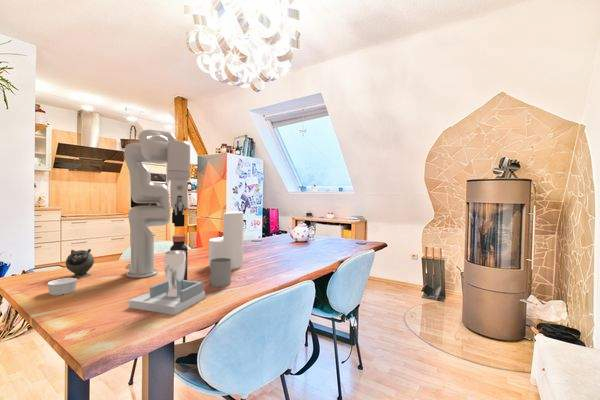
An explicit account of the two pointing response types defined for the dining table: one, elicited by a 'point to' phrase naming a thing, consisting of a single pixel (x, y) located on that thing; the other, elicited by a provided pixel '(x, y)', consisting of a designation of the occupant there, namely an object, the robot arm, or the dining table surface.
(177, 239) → the bottle
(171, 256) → the beer glass
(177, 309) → the dock
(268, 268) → the dining table surface
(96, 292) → the dining table surface
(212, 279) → the cup
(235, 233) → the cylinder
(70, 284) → the ramekin
